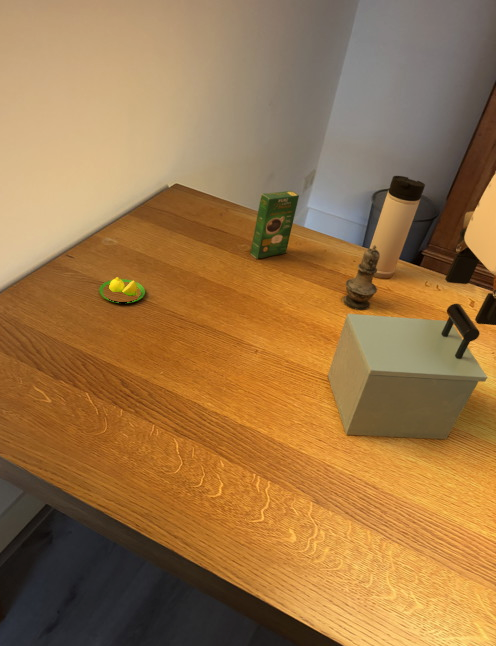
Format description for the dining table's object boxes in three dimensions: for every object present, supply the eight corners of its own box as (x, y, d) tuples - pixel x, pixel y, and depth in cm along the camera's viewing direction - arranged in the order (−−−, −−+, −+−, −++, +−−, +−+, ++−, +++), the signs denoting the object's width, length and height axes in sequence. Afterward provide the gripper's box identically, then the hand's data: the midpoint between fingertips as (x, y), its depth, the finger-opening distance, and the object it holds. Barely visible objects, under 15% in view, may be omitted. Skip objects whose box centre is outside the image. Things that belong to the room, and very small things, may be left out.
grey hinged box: (416, 380, 87) (442, 325, 80) (446, 439, 77) (478, 381, 71) (327, 375, 86) (345, 318, 79) (345, 434, 76) (368, 375, 69)
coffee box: (279, 247, 118) (291, 188, 110) (287, 253, 116) (300, 194, 108) (249, 253, 114) (259, 193, 106) (257, 260, 113) (268, 198, 104)
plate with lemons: (150, 286, 100) (150, 273, 98) (137, 309, 94) (138, 295, 92) (107, 278, 100) (107, 265, 99) (92, 300, 94) (92, 286, 92)
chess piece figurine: (338, 305, 103) (355, 247, 95) (344, 291, 107) (361, 234, 99) (368, 314, 101) (389, 256, 94) (373, 299, 106) (393, 243, 98)
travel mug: (358, 271, 114) (388, 176, 101) (369, 261, 118) (400, 169, 106) (386, 282, 111) (420, 187, 99) (397, 271, 116) (431, 178, 103)
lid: (448, 325, 80) (464, 291, 77) (485, 382, 71) (505, 346, 67) (345, 317, 79) (357, 283, 75) (368, 374, 69) (383, 338, 65)
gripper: (616, 203, 53) (530, 344, 64) (529, 146, 66) (470, 271, 77) (545, 195, 52) (470, 339, 63) (471, 139, 65) (420, 266, 76)
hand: (470, 301), depth 70 cm, fingers open, 9 cm apart
